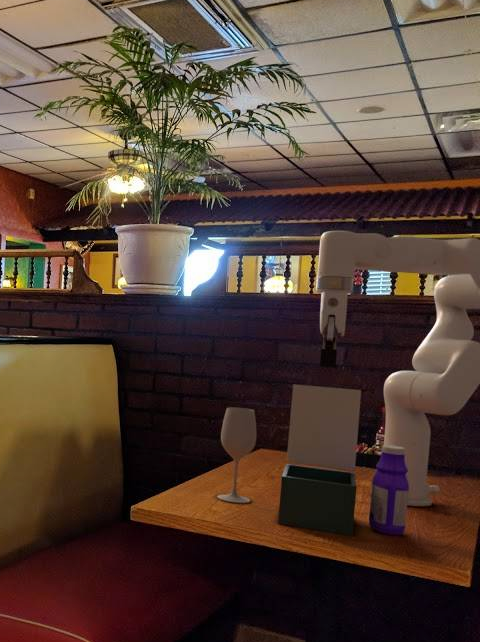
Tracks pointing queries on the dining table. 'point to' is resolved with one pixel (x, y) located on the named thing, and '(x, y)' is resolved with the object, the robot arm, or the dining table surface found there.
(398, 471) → the bottle
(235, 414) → the wineglass
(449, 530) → the dining table surface
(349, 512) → the dark green open box
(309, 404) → the cooler lid
